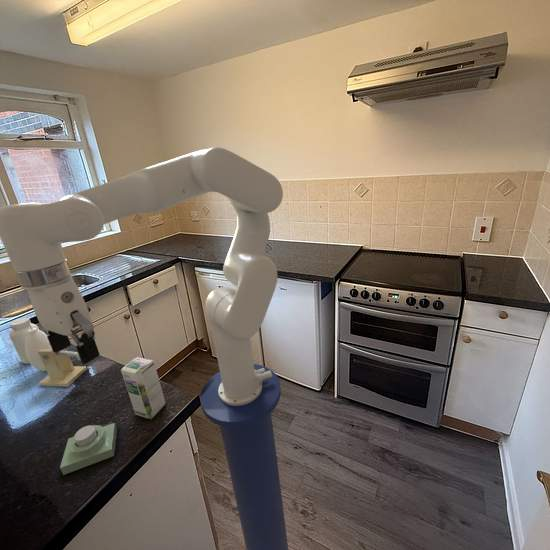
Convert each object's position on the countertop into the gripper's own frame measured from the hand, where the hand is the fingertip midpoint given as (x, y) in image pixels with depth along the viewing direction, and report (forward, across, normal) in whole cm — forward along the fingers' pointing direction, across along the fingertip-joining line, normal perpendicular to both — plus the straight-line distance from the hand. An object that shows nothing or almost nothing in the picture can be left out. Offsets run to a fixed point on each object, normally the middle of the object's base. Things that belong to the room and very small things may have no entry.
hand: (76, 354), depth 59 cm
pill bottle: (+27, +62, -13) cm, 69 cm away
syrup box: (+26, +1, -12) cm, 29 cm away
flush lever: (+19, +35, -12) cm, 41 cm away
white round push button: (+23, +4, +2) cm, 23 cm away
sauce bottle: (+27, +50, -11) cm, 57 cm away
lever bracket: (+26, +40, -10) cm, 49 cm away
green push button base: (+26, +4, +2) cm, 27 cm away
